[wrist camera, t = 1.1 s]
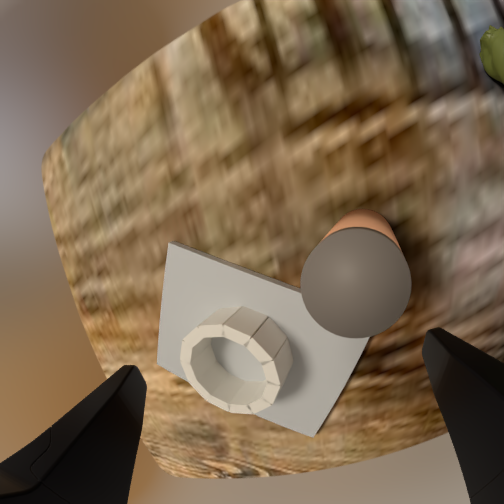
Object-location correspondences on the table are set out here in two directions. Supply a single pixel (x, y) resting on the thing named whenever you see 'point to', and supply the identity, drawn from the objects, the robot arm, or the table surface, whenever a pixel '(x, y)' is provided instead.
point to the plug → (357, 277)
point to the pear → (493, 53)
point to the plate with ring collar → (249, 342)
